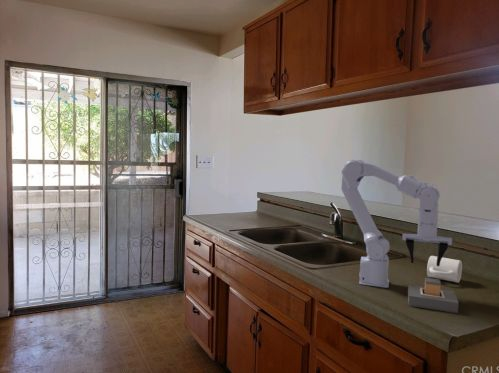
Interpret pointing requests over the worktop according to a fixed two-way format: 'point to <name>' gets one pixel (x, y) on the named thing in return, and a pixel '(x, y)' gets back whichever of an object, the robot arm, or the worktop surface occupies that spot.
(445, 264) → the mug
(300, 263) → the worktop surface
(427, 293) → the plug
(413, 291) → the socket block
